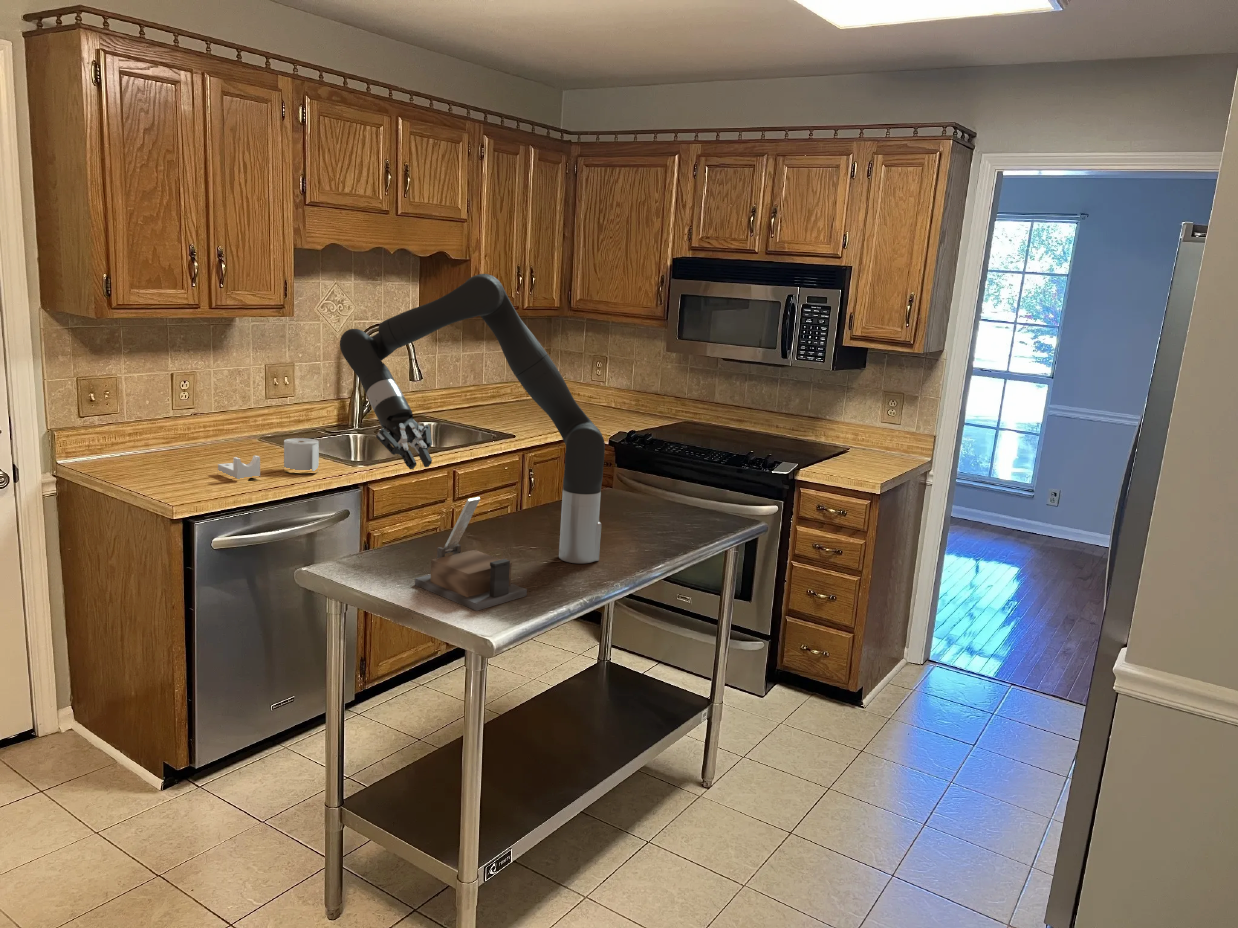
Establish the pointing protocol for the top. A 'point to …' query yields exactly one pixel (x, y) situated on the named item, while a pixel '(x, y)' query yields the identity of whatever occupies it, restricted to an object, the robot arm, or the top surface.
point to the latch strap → (461, 524)
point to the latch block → (471, 579)
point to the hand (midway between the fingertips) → (421, 465)
